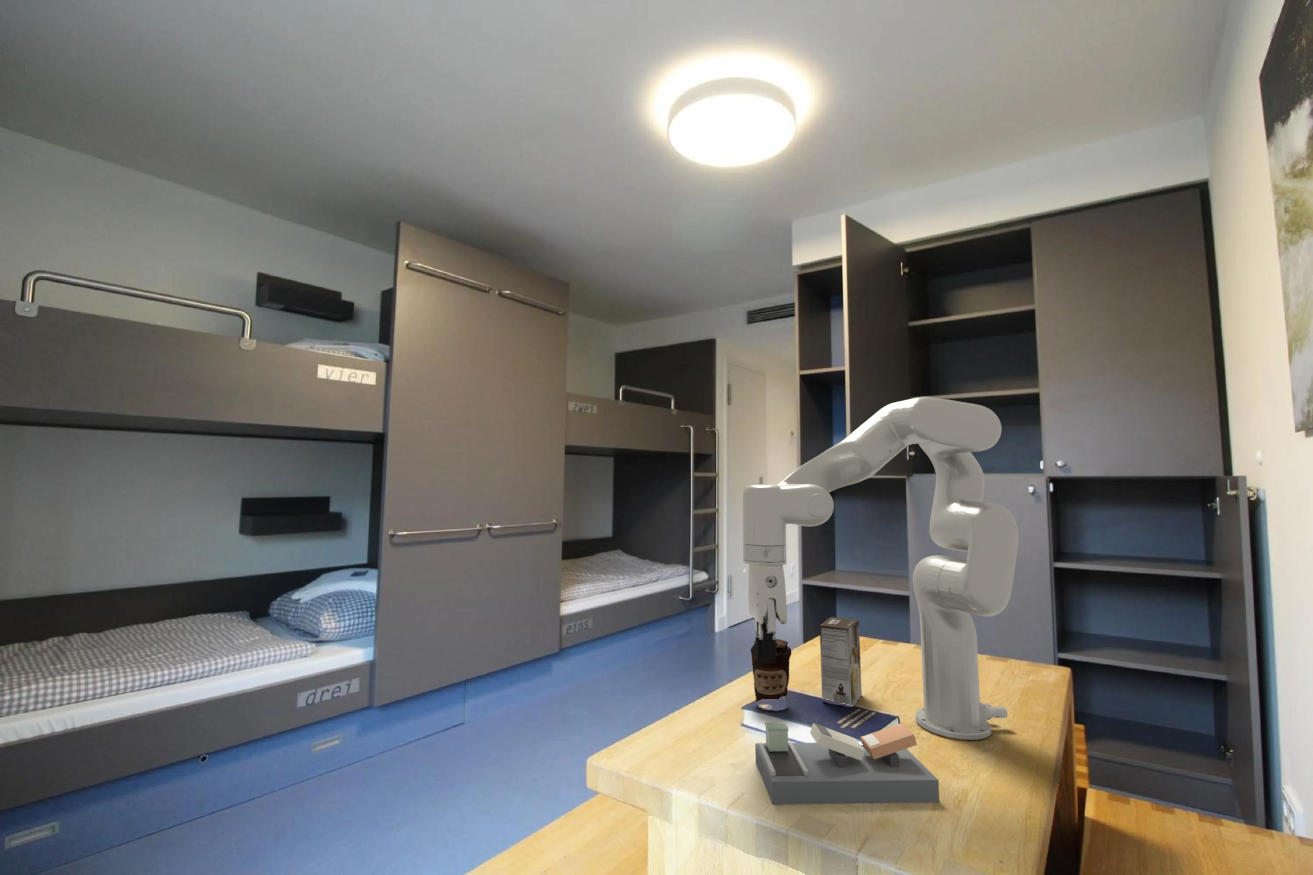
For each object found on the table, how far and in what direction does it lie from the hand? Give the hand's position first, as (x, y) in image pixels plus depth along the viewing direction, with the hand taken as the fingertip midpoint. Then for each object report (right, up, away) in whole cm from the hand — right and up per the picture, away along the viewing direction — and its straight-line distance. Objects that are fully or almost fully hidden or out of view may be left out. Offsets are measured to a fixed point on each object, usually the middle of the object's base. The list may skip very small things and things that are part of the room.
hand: (765, 661), depth 95 cm
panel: (+9, -14, -11) cm, 20 cm away
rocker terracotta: (+17, -8, -10) cm, 21 cm away
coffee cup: (+5, -17, +18) cm, 25 cm away
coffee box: (+21, -17, +22) cm, 35 cm away
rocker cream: (+9, -8, -11) cm, 16 cm away
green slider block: (0, -11, -7) cm, 13 cm away
